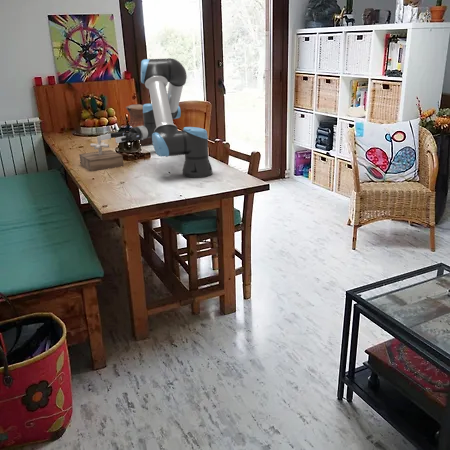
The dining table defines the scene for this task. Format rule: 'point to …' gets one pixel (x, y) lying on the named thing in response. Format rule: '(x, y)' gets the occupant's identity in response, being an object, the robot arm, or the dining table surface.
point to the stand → (101, 160)
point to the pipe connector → (99, 145)
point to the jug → (138, 120)
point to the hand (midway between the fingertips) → (108, 139)
